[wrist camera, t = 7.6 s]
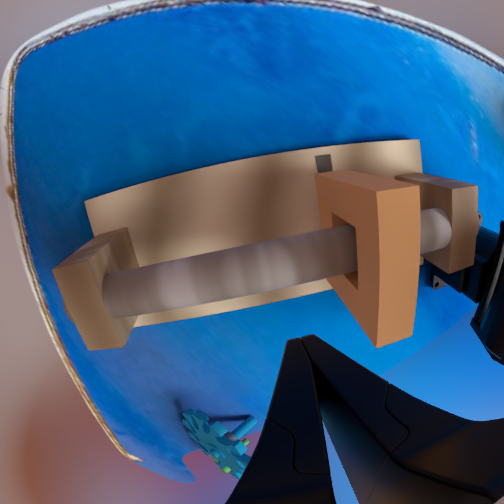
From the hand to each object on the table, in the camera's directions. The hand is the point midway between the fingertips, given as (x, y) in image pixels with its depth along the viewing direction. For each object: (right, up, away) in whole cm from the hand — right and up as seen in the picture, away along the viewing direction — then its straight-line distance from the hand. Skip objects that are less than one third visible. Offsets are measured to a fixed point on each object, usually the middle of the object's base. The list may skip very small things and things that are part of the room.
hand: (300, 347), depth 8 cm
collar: (+4, +5, +9) cm, 11 cm away
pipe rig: (0, +5, +11) cm, 12 cm away
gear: (-5, -15, +18) cm, 24 cm away
